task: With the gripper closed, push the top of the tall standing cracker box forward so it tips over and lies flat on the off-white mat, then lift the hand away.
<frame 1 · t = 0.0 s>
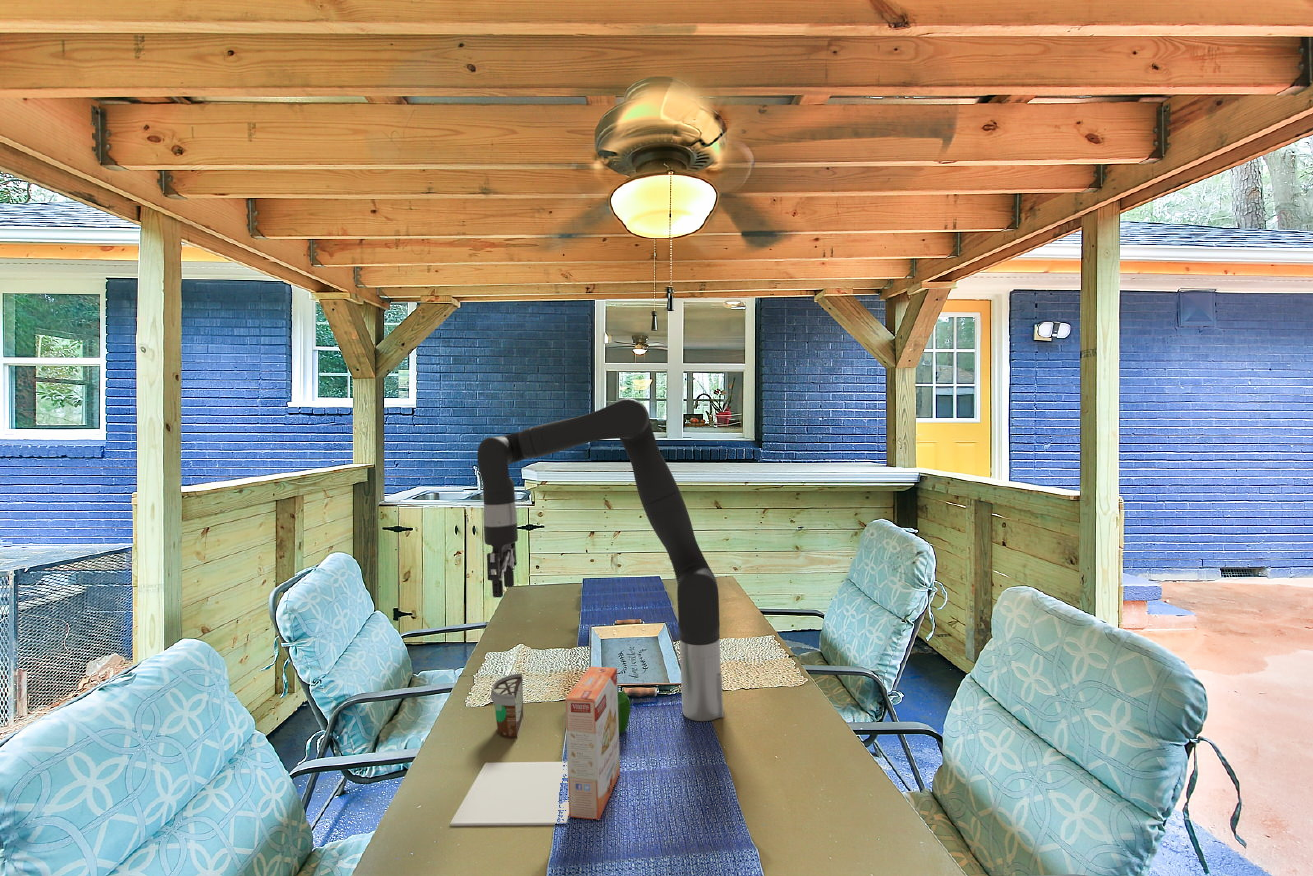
hand: (503, 591, 138), 29 cm above the table, tool pointing down, fingers open, 8 cm apart
cracker box: (597, 796, 108), on the table
off-white mat: (522, 792, 110), on the table
food container: (506, 729, 133), on the table
bell pepper: (612, 732, 130), on the table
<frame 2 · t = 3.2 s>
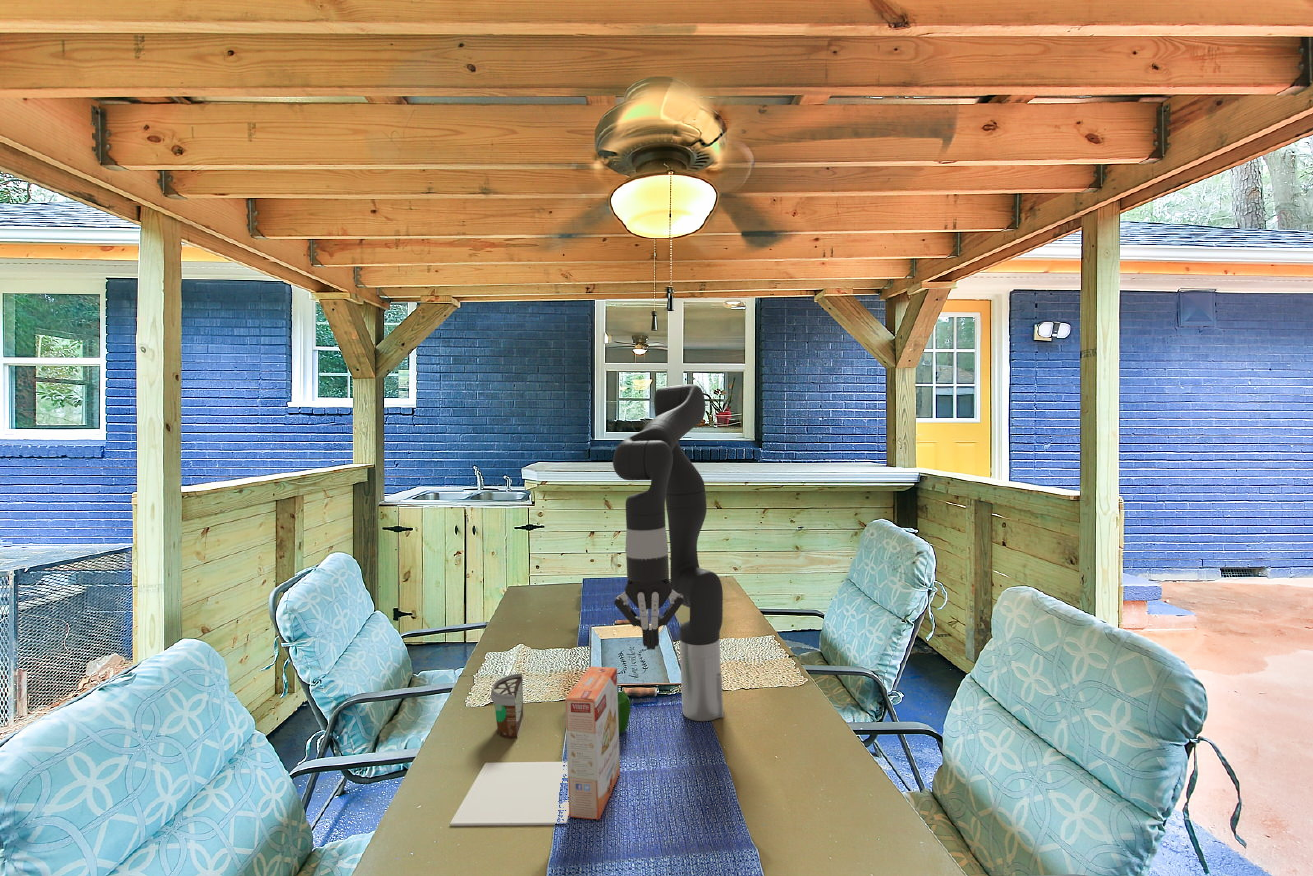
hand: (651, 648, 107), 27 cm above the table, tool pointing down, fingers closed
nothing on the table moved.
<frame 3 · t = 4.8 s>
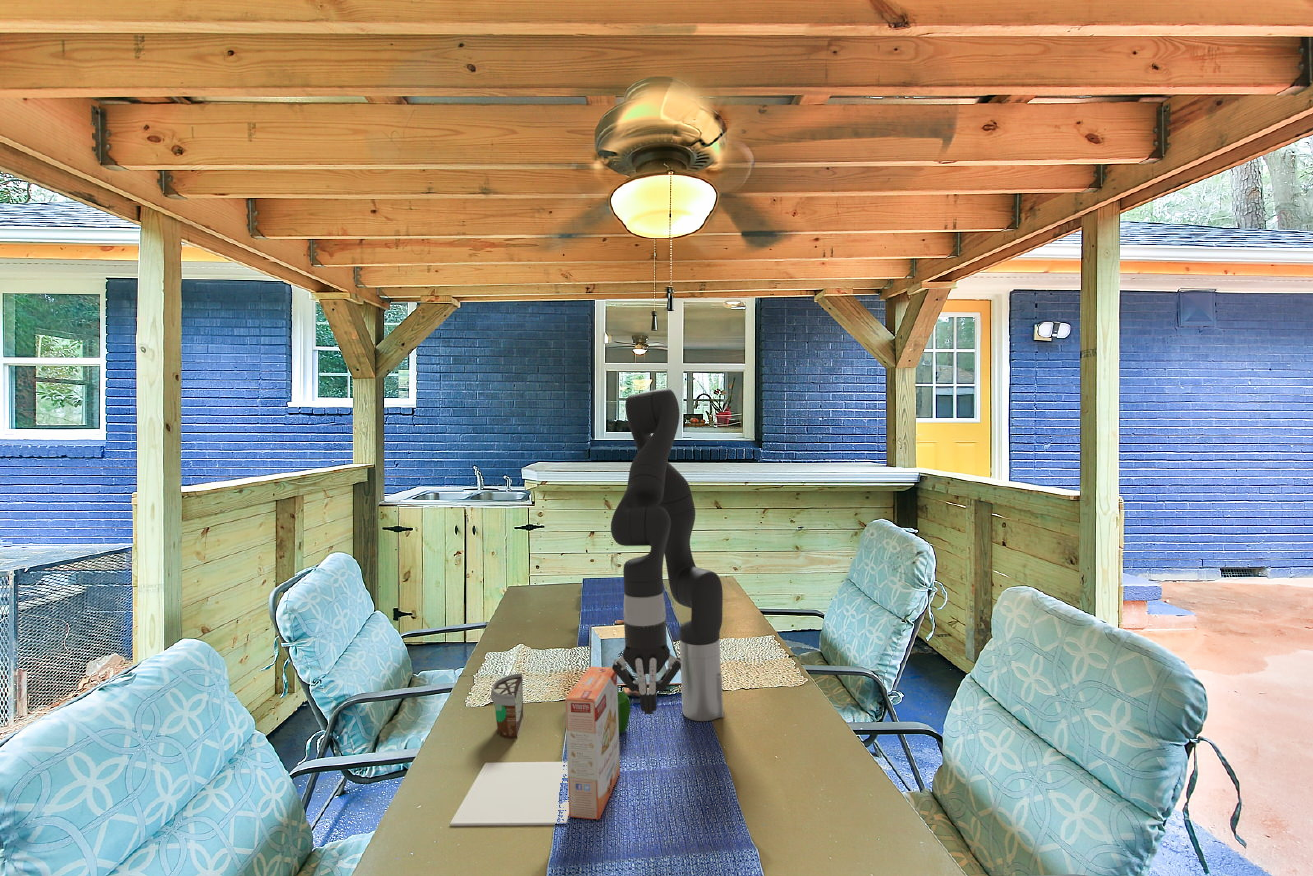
hand: (648, 712, 107), 15 cm above the table, tool pointing down, fingers closed
nothing on the table moved.
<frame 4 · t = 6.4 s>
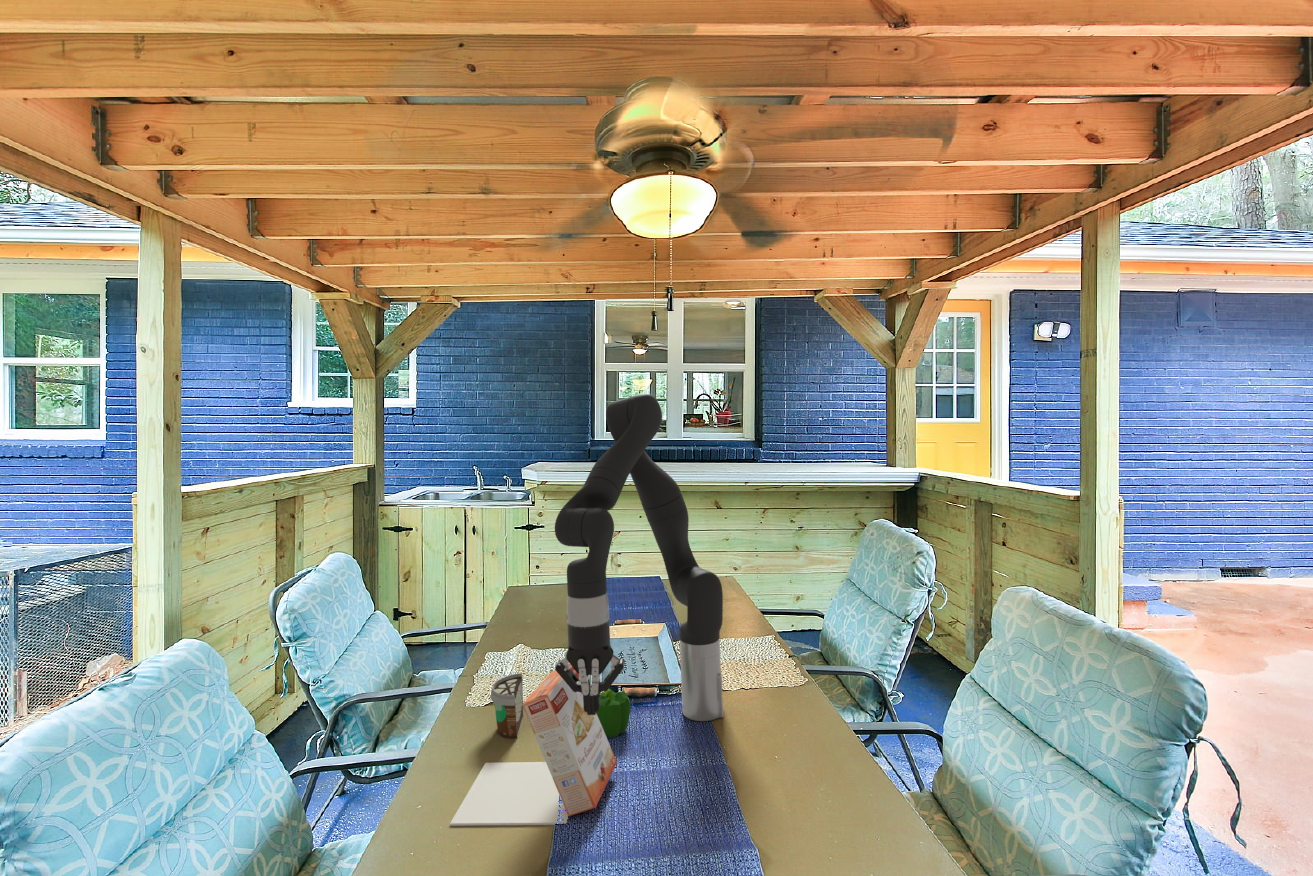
hand: (592, 713, 107), 15 cm above the table, tool pointing down, fingers closed
cracker box: (596, 789, 108), point 1 cm above the table
everything else where it was.
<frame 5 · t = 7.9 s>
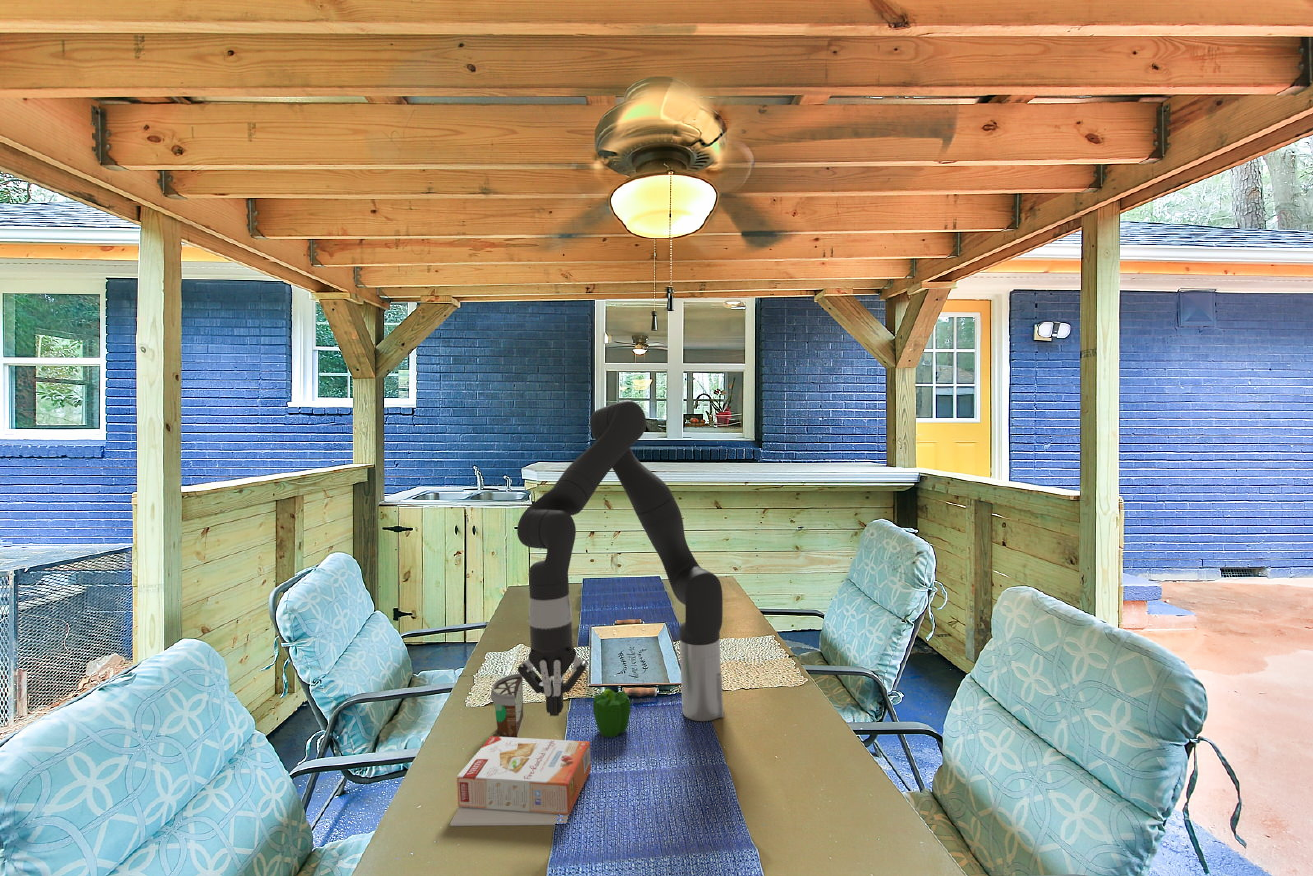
hand: (555, 714, 108), 15 cm above the table, tool pointing down, fingers closed
cracker box: (582, 774, 108), point 3 cm above the table, touching off-white mat
everything else where it was.
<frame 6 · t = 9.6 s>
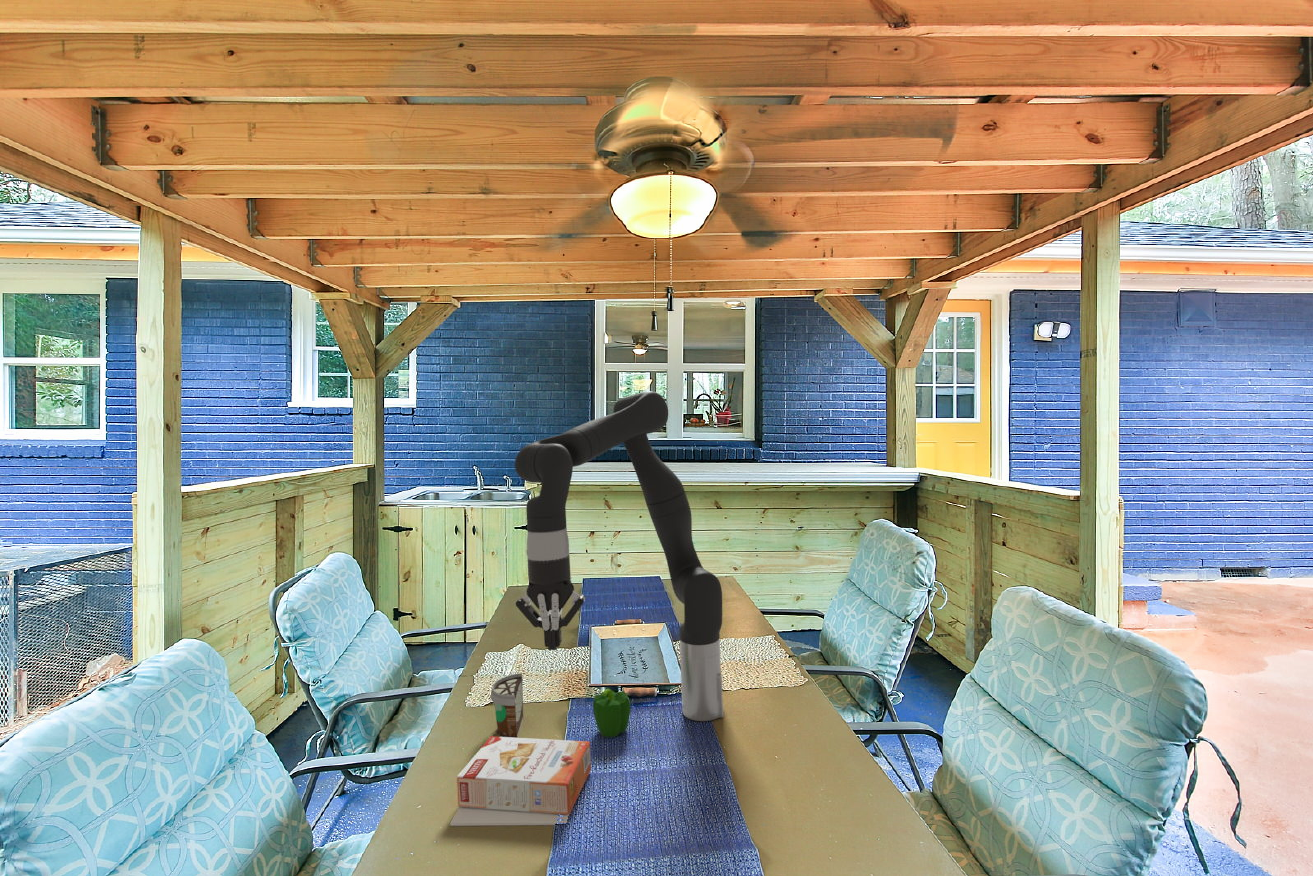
hand: (553, 648, 108), 27 cm above the table, tool pointing down, fingers closed
nothing on the table moved.
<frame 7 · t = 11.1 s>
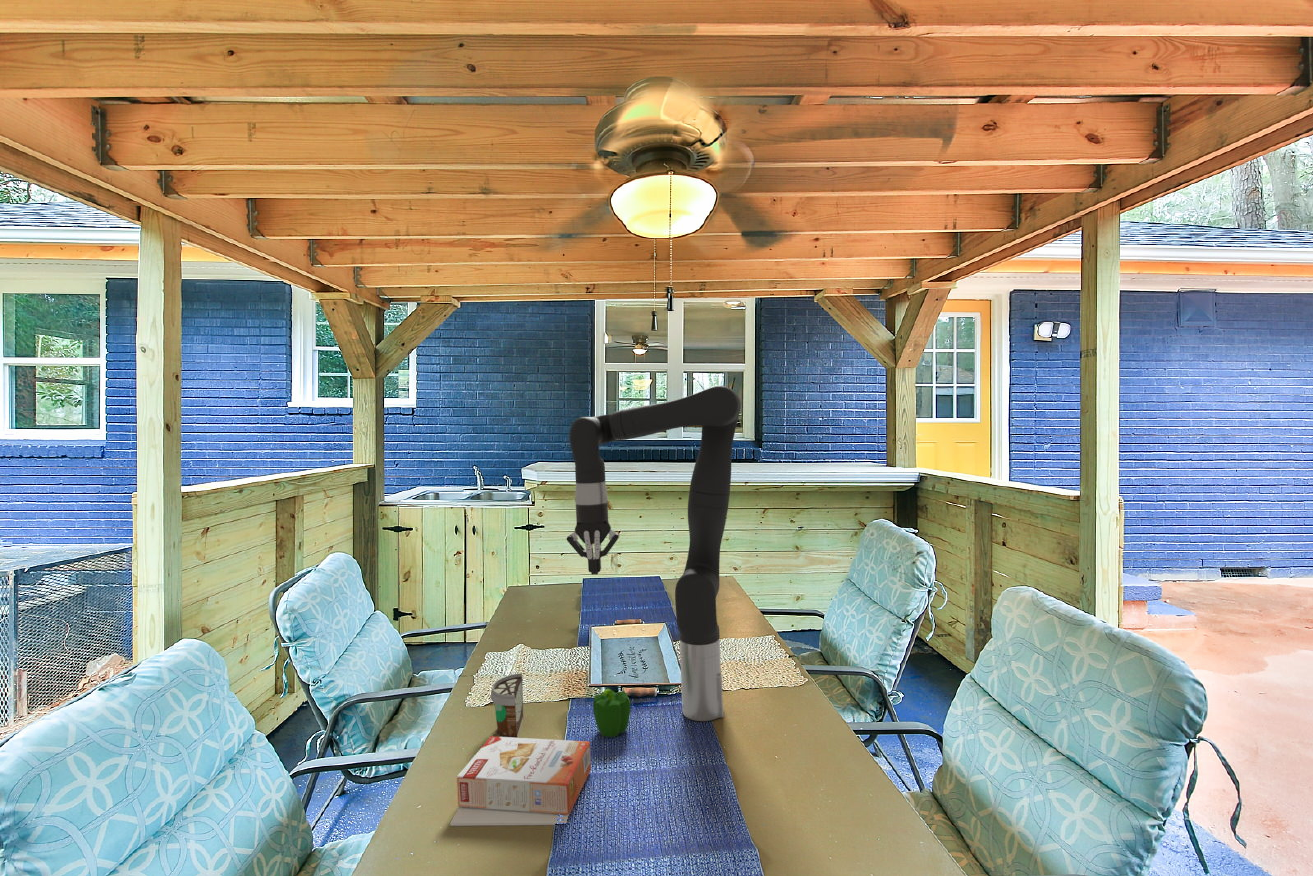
hand: (594, 573, 141), 32 cm above the table, tool pointing down, fingers closed
nothing on the table moved.
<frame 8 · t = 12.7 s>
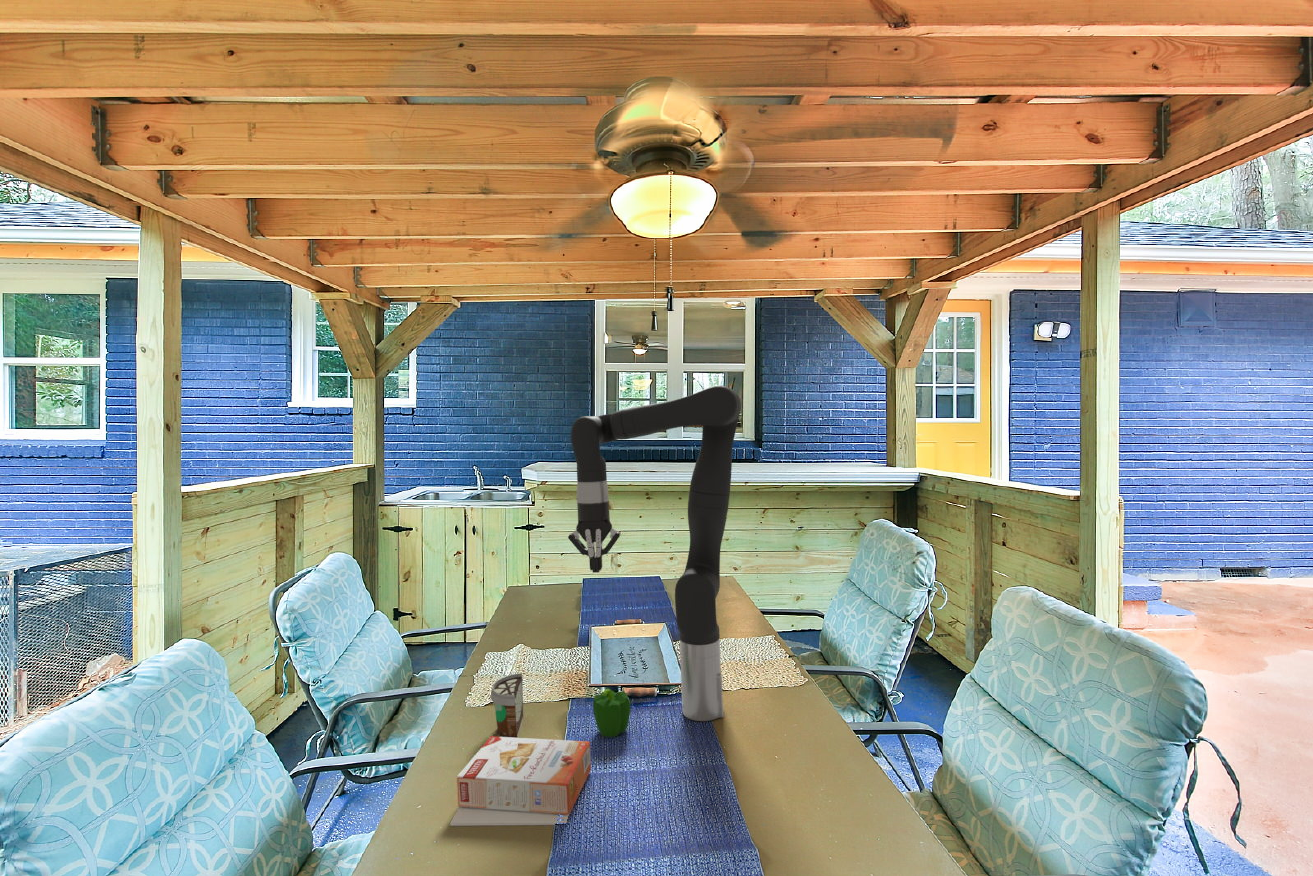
hand: (596, 571, 142), 32 cm above the table, tool pointing down, fingers closed
nothing on the table moved.
at the end: cracker box tilted 91°; cracker box touching off-white mat; cracker box moved 4.3 cm from its start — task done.
